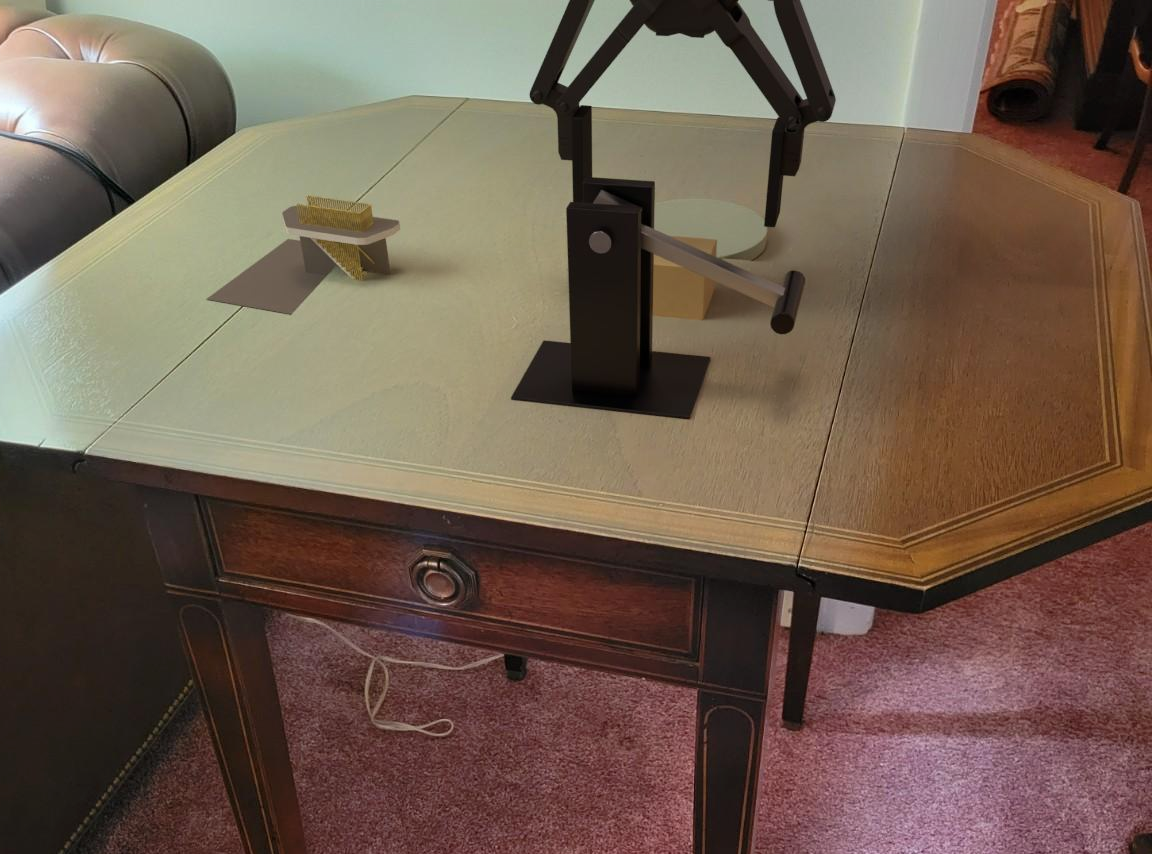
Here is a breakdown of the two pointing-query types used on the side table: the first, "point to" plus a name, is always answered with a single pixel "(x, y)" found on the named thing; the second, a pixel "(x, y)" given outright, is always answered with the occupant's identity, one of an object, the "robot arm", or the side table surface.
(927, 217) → the side table surface
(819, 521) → the side table surface
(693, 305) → the cake slice
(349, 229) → the platform
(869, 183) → the side table surface
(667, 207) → the plate
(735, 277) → the blade
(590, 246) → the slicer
